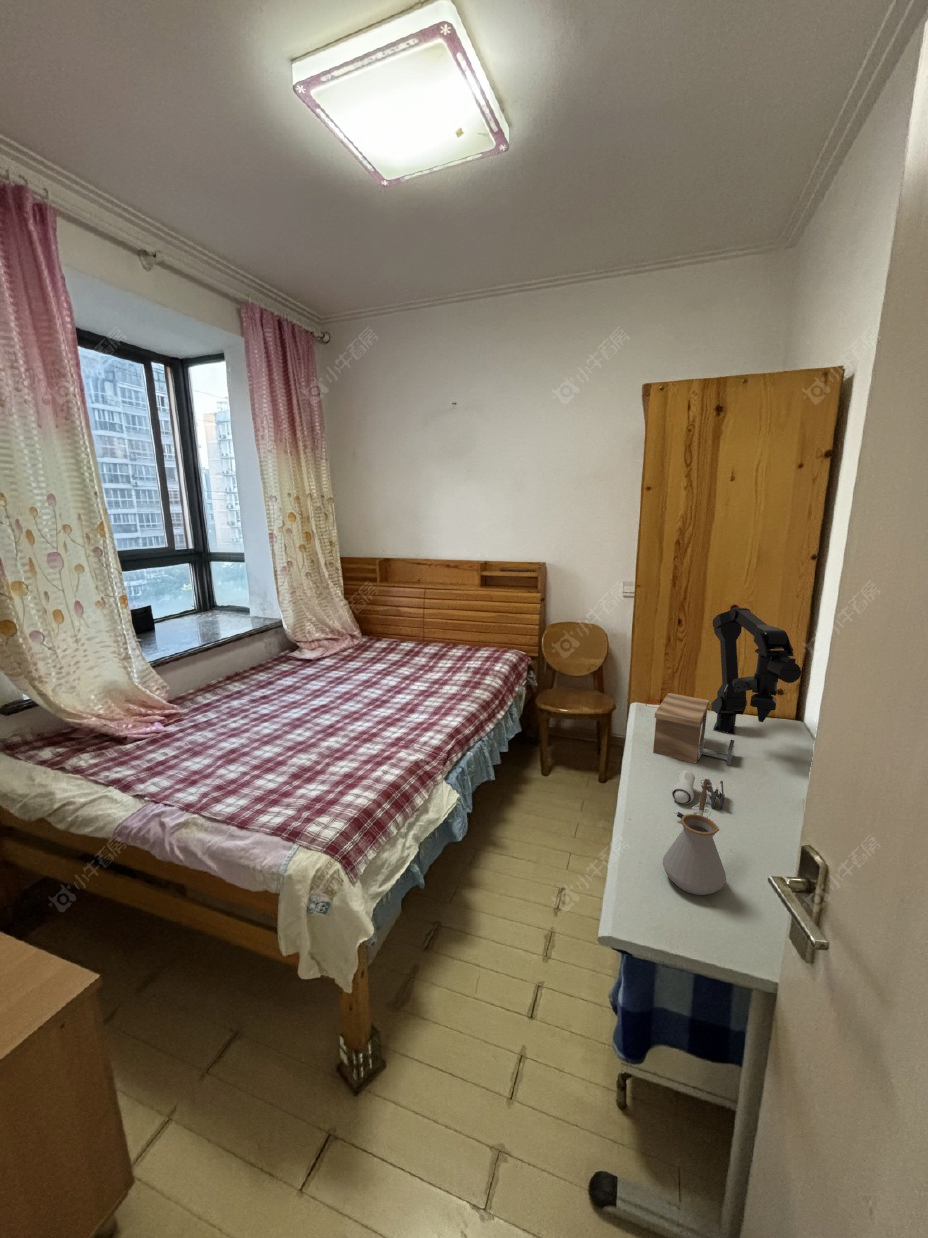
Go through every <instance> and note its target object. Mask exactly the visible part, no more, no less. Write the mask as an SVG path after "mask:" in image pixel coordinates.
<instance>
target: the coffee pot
mask: <svg viewBox="0 0 928 1238" xmlns="http://www.w3.org/2000/svg"><path fill="white" fill-rule="evenodd" d="M710 781H711V780H710ZM710 781H708V778H704V779H701V780H700V785H701V784H703V786H702V787H701V790H702V792H701V793H700V796H699V803H700V805H699V806H698V807H699V809H698V814H697V813H695V814H694V813H688V814H683V815H684V816H683V817H682V818H680V824H681V825H682V826H683V828H682V830H681V832H680V833H679V835H677V837H676V839H675V840H674V842H672V844H671V845H670V847H669V848H668V849H667V851H666V852H665V854H664V856H663V858H662V866H663V868H664V872H665V874H666V875H667V876H668V877H669V879H670V881H672V882H673V884H675V886H677V887H678V888H679V889H680V890H682V891H684V892H686V893H689V894H692V895H695V896H707V895H711V894H713V893H717V892H719V891H720V889H722V888H723V887H724V885H725V884H726V881H727V875H726V871H725V868H724V865H723V862H722V859H721V856H720V855H719V854H720V853H719V851H718V848H717V845H716V843H715V840H714V838H713V837H714V836H715V835H716V834H717V833H718V832H720V829H719V827H718V826H717V824H716V823H715V822H714V821H713V820H712V819H710V818H709V817H708V818H706V817H707V816H703V815H704V811H705V809H704V808H706V802H707V800H708V799H707V798H708V796H707V792H708V791H707V790H708V787H707V786H711V785H712V783H713V782H712V781H711V782H712V783H711V782H710ZM702 782H703V783H702ZM708 782H710V783H711V785H708Z"/></svg>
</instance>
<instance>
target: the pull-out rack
mask: <svg viewBox="0 0 928 1238" xmlns="http://www.w3.org/2000/svg"><path fill="white" fill-rule="evenodd" d="M705 743H706V738H705V737H704V738H701V739H700V744H699V748H698V757H697V761H699V760H700V759H701V756H702V755H705V756H709V757H713V758H717V759H721V760H726V763H725V764H726V765H729V766H731V764H732V759H733V754H734V747H735V739H730V741H729V744H728V749H727V753H726V752H722V751H721V752H720V751H716V750H713V749H707V748H704V747H705Z"/></svg>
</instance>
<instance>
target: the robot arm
mask: <svg viewBox="0 0 928 1238" xmlns="http://www.w3.org/2000/svg"><path fill="white" fill-rule="evenodd" d="M712 627H713V631H714V635H715V636H716V637H717V639H718V640H719V644H720V664H721V684H720V685H721V686H720V687H719V688H718V690H717V696H716V698H715V699H714V700H713V701H712V702H711V703H710V708H711V710H712V711H713V712H714V713H715V714H716V720H715V723H714V726H713V729H712V730H713V731H717V732H723V733H726V734H731V735H736V731H737V726H736V723H737V722H736V721H737V715H741V716H742V715H744V713H745V712H746V711H745V710H746V709H747V708H746V707H747V705H748V701H747V691H751V693H754V694H752V695H751V697H750V702H749V703H750V704H749V706H750V707H753V708H756V712H757V718H758V722H759V723H763V722H764V721H765V720H766V718H767V717H768V715H769V714H770V713H771V711H776V708H777V698H776V697H775V696H777V693H778V682H779V680H780V681H782V682H784V683H787V684H791V683H792V684H793V683H795V682H796V681H798V680H799V679H800V677H801V675H802V670H801V667H800V665H799V664H797V663H796V658H794V652H793V651H794V648H793V646H792V644H791V641H790V638H789V635H788V632H786V630H784V629H781V628H780V627H777V626H773V625H769V624H767V623H766V622H764V620H762V619H761V618H759V617H758V616H757V615H756V614H754V613H752V612H751V610H750V609H749V608H747V607H733V608H730V610H727V611H725V612H722V613H719V614H717V615H715V617H713V620H712ZM742 628H744V630H746V631H747V632H748V633H750V635H752V636H753V642H754V643H755V645H756V646H757V648H756V649H755V650H754V653H756V654H758V655H757V661H756V662H757V663H756V668H755V672H754V675H752V676H744V677H739V662H738V645H737V640H738V639H739V637H740V636H741V634H742V632H743V631H742Z"/></svg>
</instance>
